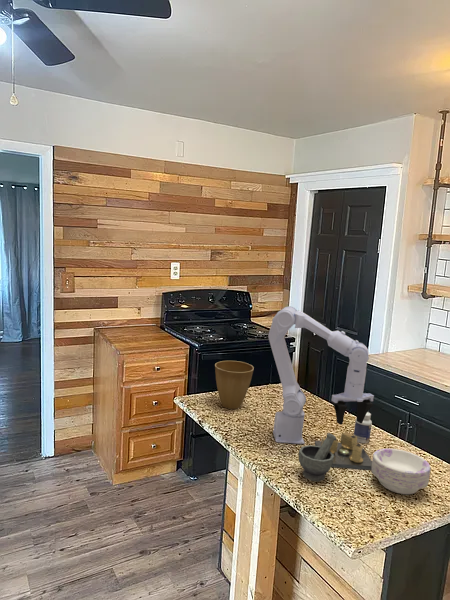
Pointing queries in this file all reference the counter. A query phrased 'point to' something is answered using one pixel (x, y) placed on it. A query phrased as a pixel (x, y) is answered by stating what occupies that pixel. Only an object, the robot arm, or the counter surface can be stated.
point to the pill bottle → (363, 429)
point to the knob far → (348, 440)
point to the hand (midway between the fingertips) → (349, 422)
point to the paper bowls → (400, 470)
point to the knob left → (334, 445)
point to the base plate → (343, 458)
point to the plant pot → (233, 382)
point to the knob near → (357, 454)
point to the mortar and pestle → (317, 459)
